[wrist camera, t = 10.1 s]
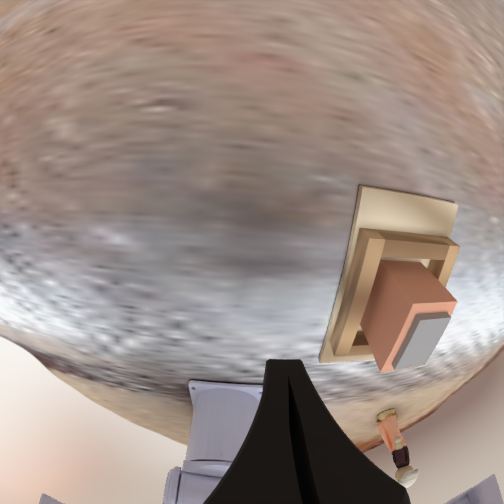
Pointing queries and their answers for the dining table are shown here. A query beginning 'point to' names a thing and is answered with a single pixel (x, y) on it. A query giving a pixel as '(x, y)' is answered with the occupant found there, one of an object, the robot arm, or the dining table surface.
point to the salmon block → (405, 314)
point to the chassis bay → (386, 258)
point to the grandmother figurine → (397, 447)
